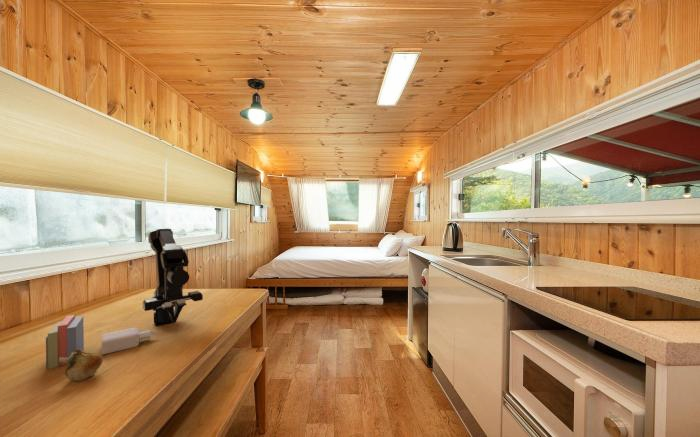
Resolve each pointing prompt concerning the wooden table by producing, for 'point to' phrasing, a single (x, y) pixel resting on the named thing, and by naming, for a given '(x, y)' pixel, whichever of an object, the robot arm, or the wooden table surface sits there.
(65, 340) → the book row
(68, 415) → the wooden table surface
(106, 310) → the wooden table surface
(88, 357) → the onion
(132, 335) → the charger
